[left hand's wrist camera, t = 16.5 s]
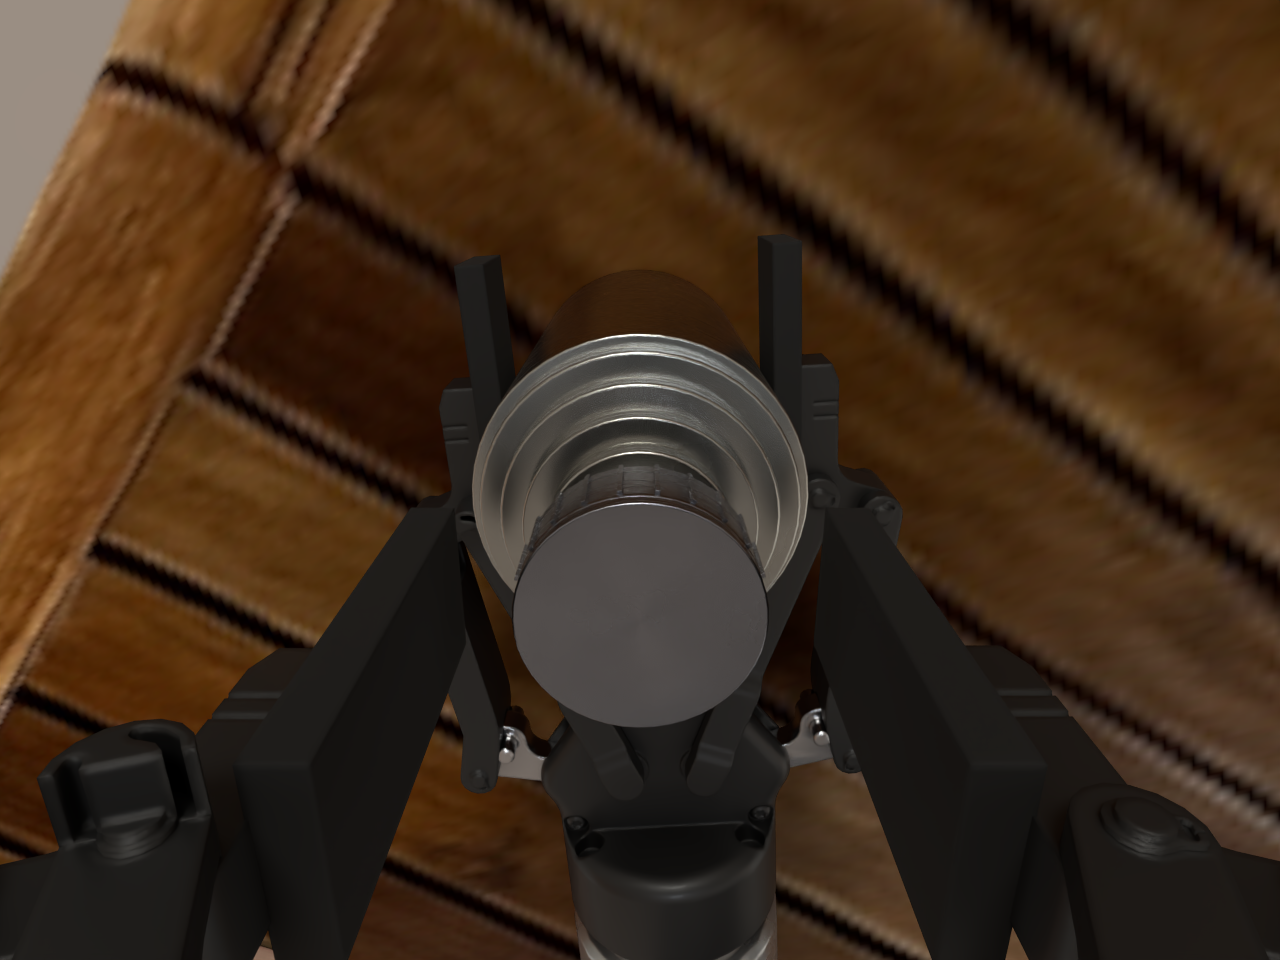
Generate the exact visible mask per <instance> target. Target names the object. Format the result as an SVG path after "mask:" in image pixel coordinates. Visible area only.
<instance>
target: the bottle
mask: <svg viewBox="0 0 1280 960" xmlns="http://www.w3.org/2000/svg"><path fill="white" fill-rule="evenodd" d="M654 464H657V465H659V468H664V469H669V470H674V471H677V472H680V473H683V474H686V475H687V474H688V473H691V474H693V478H695V479H697V480H699V481H701V482H703V483H704V484H706V485H707V486H709V487H710V488H712V489H713V490H715V491H717V490H719V491H721V492H722V496H723V498H724V499H725V500H726V501H727V502H728V503H729V504H730V505H731V507H732V508H733V509H734V510H735V511H736V513H737V514H738V515H739V514H742V516H743V518H744V521H745V524H746V527H747V531H748V534H749V537H750V540H751V543H752V542H755V544H756V547H757V550H758V553H759V556H760V559H761V563H762V566H763V569H764V572H765V575H766V578H762V579H763V582H764V586H765V589H766V592H768V591H769V590H770V589H771V588H772V586H773V585H774V584H775V582H776V581H777V580H778V578H779V577H780V576H781V575H782V573H783V572H784V570H785V568H786V567H787V565H788V563H789V561H790V560H791V558H792V556H793V554H794V552H795V550H796V547H797V545H798V542H799V540H800V537H801V534H802V531H803V527H804V523H805V519H806V514H807V505H808V496H809V495H808V473H807V467H806V461H805V455H804V452H803V449H802V446H801V442H800V439H799V436H798V434H797V432H796V430H795V427H794V425H793V423H792V421H791V419H790V417H789V415H788V414H787V412H786V410H785V409H784V407H783V406H782V404H781V402H780V401H779V399H778V398H777V396H776V395H775V393H774V391H773V390H772V388H771V387H770V385H769V383H768V382H767V380H766V379H765V377H764V375H763V374H762V372H761V371H760V369H759V367H758V366H757V364H756V363H755V361H754V359H753V358H752V356H751V355H750V353H749V352H748V350H747V348H746V347H745V345H744V344H743V342H742V340H741V339H740V337H739V336H738V334H737V332H736V331H735V329H734V328H733V326H732V324H731V323H730V321H729V320H728V318H727V317H726V315H725V314H724V312H723V311H722V309H721V308H720V307H719V306H718V305H717V304H716V303H715V302H714V300H713V299H712V298H710V297H709V296H708V295H707V294H706V293H705V292H703V291H702V290H701V289H699V288H698V287H696V286H695V285H693V284H691V283H690V282H688V281H685V280H683V279H681V278H679V277H676V276H673V275H670V274H667V273H663V272H657V271H651V270H631V271H622V272H618V273H614V274H610V275H607V276H604V277H602V278H599V279H597V280H595V281H593V282H591V283H589V284H587V285H586V286H584V287H583V288H581V289H580V290H578V291H577V292H576V293H574V294H573V295H572V296H571V297H570V298H569V299H568V300H567V301H566V302H565V303H564V304H563V305H562V306H561V308H560V309H559V310H558V311H557V313H556V314H555V315H554V317H553V319H552V320H551V322H550V323H549V325H548V327H547V328H546V330H545V331H544V333H543V335H542V336H541V338H540V339H539V341H538V343H537V344H536V346H535V347H534V349H533V351H532V352H531V354H530V355H529V357H528V359H527V360H526V362H525V363H524V365H523V367H522V368H521V370H520V371H519V373H518V375H517V376H516V378H515V379H514V381H513V383H512V384H511V386H510V387H509V389H508V391H507V392H506V394H505V395H504V397H503V399H502V400H501V402H500V403H499V405H498V407H497V408H496V410H495V412H494V413H493V415H492V417H491V419H490V420H489V422H488V424H487V426H486V428H485V431H484V433H483V436H482V438H481V441H480V443H479V446H478V451H477V455H476V459H475V463H474V470H473V480H472V499H473V510H474V515H475V521H476V526H477V529H478V532H479V535H480V538H481V541H482V544H483V546H484V548H485V551H486V553H487V555H488V557H489V559H490V561H491V563H492V564H493V566H494V567H495V569H496V570H497V572H498V573H499V575H500V576H501V578H502V579H503V581H504V582H505V583H506V584H507V585H508V587H509V588H510V589H511V590H512V591H513V592H514V591H515V587H516V584H517V581H515V580H514V578H515V575H516V571H517V568H518V565H519V562H520V559H521V555H522V552H523V549H524V546H525V544H526V545H528V543H529V540H530V537H531V534H532V530H533V527H534V524H535V521H536V518H537V517H538V516H540V517H542V515H543V514H544V512H545V511H546V509H547V508H548V507H549V506H550V505H551V504H552V503H553V502H554V501H555V499H556V495H557V494H558V493H559V492H561V493H562V494H563V493H564V492H565V491H566V490H567V489H569V488H570V487H572V486H573V485H575V484H577V483H578V482H580V481H582V480H584V479H585V475H588V474H590V476H593V475H595V474H598V473H601V472H604V471H607V470H611V469H617V468H619V465H624V467H633V466H648V467H654Z"/></svg>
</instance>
